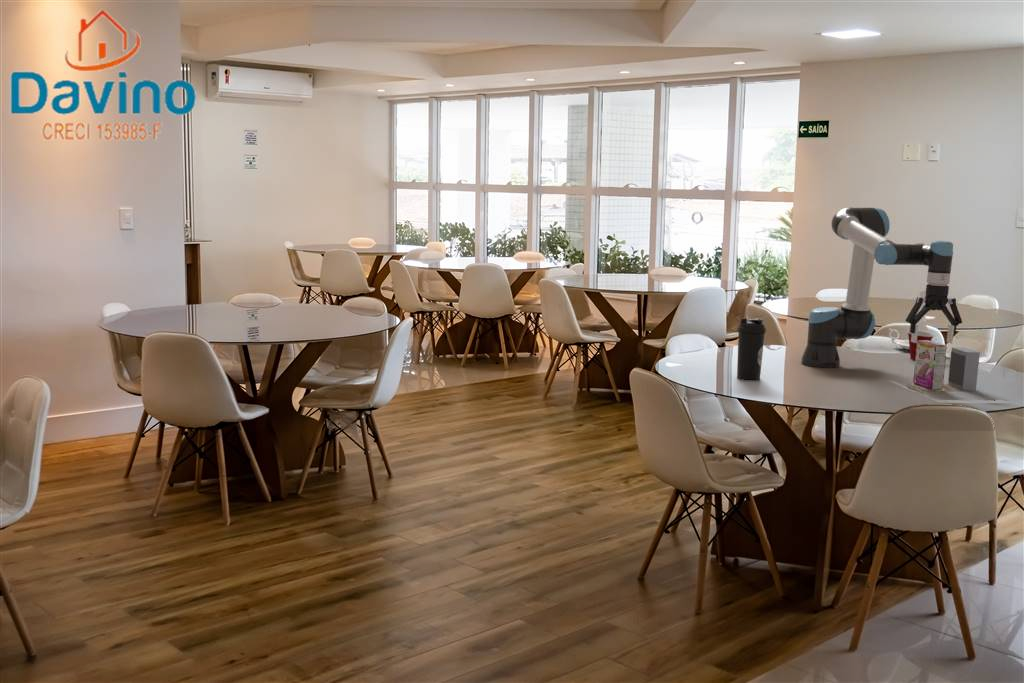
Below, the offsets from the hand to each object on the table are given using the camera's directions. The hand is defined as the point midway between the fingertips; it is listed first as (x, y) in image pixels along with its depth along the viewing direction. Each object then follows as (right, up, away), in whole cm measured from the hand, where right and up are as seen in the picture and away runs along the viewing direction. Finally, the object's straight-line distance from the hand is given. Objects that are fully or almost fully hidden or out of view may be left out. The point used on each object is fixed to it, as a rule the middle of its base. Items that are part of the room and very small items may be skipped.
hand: (931, 342), depth 361 cm
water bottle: (-63, -14, +15) cm, 66 cm away
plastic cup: (+23, -8, +67) cm, 71 cm away
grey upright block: (+13, -16, +4) cm, 21 cm away
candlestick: (+31, -4, +93) cm, 98 cm away
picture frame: (+5, -17, +3) cm, 18 cm away
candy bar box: (0, -16, +2) cm, 17 cm away
